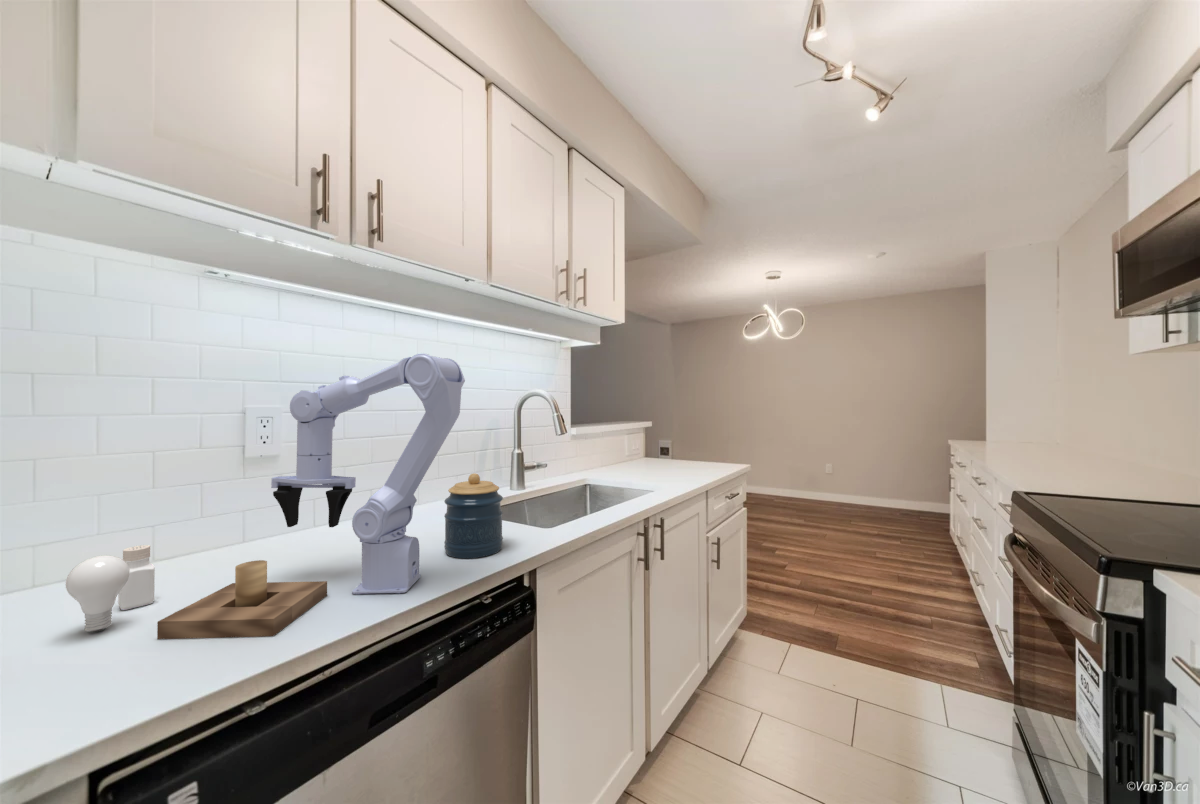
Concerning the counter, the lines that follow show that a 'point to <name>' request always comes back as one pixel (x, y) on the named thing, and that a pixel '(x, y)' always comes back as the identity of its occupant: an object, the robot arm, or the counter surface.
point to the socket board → (242, 612)
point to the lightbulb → (97, 588)
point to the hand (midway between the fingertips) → (313, 525)
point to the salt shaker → (137, 578)
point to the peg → (251, 583)
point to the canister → (473, 519)
